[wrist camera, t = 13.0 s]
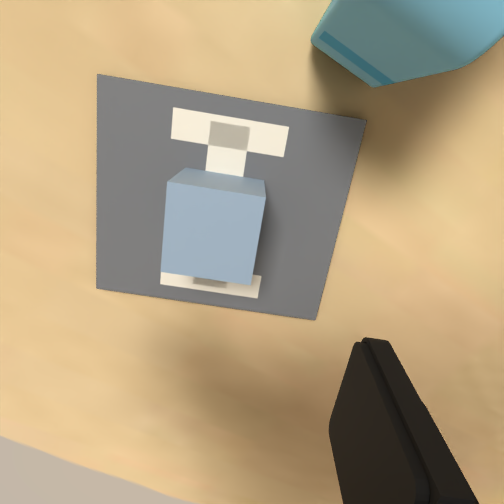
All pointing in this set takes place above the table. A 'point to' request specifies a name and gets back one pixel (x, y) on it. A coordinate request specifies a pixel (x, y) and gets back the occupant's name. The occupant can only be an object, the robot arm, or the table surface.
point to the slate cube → (212, 225)
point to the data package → (407, 36)
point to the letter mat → (227, 162)
